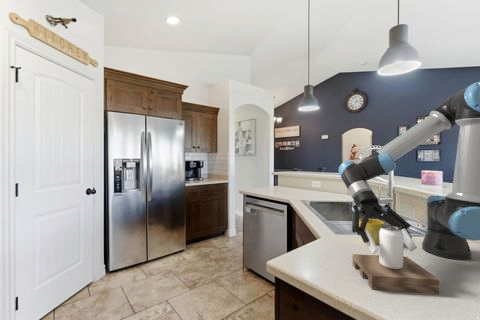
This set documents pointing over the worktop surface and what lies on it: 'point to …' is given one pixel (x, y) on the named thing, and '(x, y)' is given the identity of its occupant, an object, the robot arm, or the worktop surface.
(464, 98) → the robot arm
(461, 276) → the worktop surface
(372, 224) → the plant pot
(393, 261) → the can
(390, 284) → the platform
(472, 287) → the worktop surface
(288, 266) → the worktop surface
